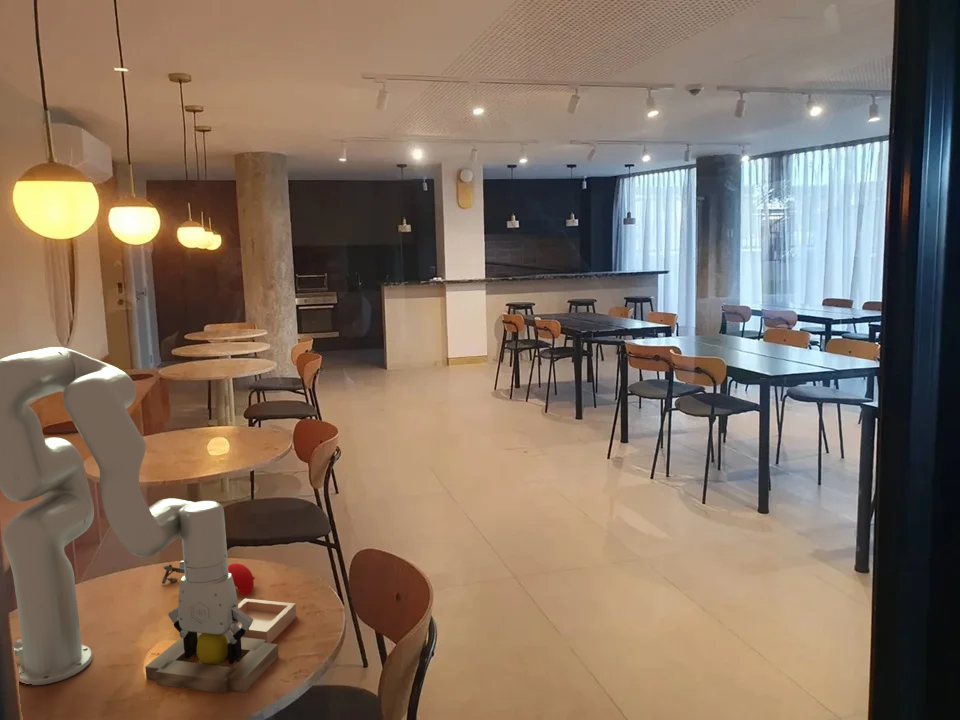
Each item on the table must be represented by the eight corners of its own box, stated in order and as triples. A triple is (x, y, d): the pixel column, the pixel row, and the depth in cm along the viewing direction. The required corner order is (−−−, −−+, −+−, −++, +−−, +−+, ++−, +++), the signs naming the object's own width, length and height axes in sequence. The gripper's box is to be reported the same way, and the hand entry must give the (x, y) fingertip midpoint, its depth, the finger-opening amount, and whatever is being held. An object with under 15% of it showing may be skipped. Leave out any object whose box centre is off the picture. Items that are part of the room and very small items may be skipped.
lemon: (191, 671, 136) (188, 631, 135) (215, 656, 141) (212, 617, 140) (213, 679, 134) (209, 638, 133) (236, 663, 139) (233, 624, 138)
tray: (213, 639, 148) (212, 625, 147) (245, 611, 159) (244, 598, 159) (267, 646, 145) (266, 631, 144) (296, 616, 156) (295, 603, 156)
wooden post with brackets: (157, 581, 173) (163, 562, 174) (189, 585, 178) (196, 566, 179) (159, 584, 172) (166, 565, 172) (192, 587, 177) (198, 569, 177)
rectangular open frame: (142, 682, 133) (141, 669, 133) (190, 642, 147) (189, 631, 146) (241, 695, 129) (240, 682, 128) (281, 653, 142) (280, 641, 142)
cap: (213, 577, 169) (221, 571, 165) (234, 560, 173) (242, 554, 169) (235, 604, 169) (243, 599, 165) (255, 587, 173) (263, 582, 169)
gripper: (151, 574, 133) (159, 663, 136) (237, 582, 129) (244, 673, 132) (177, 557, 140) (184, 642, 143) (259, 564, 136) (265, 651, 139)
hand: (213, 657), depth 137 cm, fingers open, 8 cm apart
